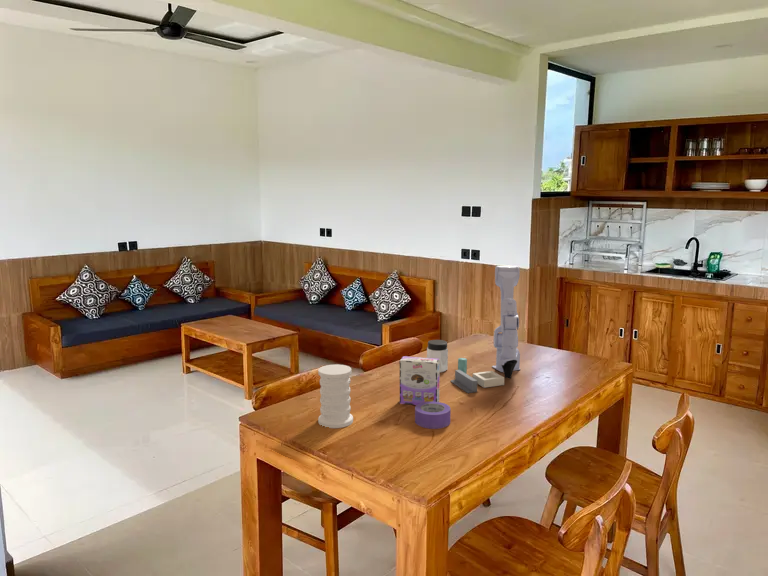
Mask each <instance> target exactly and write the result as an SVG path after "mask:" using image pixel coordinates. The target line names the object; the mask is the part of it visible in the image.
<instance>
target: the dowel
mask: <svg viewBox="0 0 768 576" xmlns="http://www.w3.org/2000/svg"><path fill="white" fill-rule="evenodd" d="M467 366H468V359H467V358H465V357H458V358H457V370H461V371H463V372H464V373H466V374H467V375H468V373H467V371H468V369H467V368H468V367H467Z"/></svg>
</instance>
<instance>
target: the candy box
mask: <svg viewBox="0 0 768 576" xmlns="http://www.w3.org/2000/svg"><path fill="white" fill-rule="evenodd" d="M398 363H399V404H401V405H414V406H416V405H418V404H420V403H423V402H440V376H441V375H440V359H436V358H427V357H420V356H407V355H405V356H402V357H401V359H400V360H399V362H398Z"/></svg>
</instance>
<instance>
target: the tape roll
mask: <svg viewBox="0 0 768 576" xmlns="http://www.w3.org/2000/svg"><path fill="white" fill-rule="evenodd" d="M451 412H452V411H451V406H450V405H448V404H447V403H444V402H440V401H439V402H423V403H420V404H418V405H415V407H414V423H415V424H416V425H417V426H419V427H421V428H424V429H432V430H436V429H437V430H438V429H443V428H446V427H448V426H449V425H450V424H451V415H452V414H451Z"/></svg>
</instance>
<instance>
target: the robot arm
mask: <svg viewBox="0 0 768 576" xmlns="http://www.w3.org/2000/svg"><path fill="white" fill-rule="evenodd" d="M520 272H521V270H520V267H519V265H496V266H495V268H494V283H495V286H497V287H499V289H500V291H499V292H500V325H499V326H497V327H496V328H495V329H494V331H493V347H494V348H495V349H496V354H495V355H496V358H495V365H492V366H491V368H492V369H495V370H496V371H499V372H501V373H503V375H504V379H509V380H510V379H511V378H512V376H513V374H514V373H513V372H514V371H520V370H521V367H520V366H521V365H520V364H521V353H520V350H519V348H518V346H519V345H518V344H519V336H518V331H519V327H520V317H519V313H518V306H517V300H516V299H515V298H514V292H515V291H514V290H515V289H514V288H515V287H516V286H517V285H518V284H519V280H520V275H521V274H520Z"/></svg>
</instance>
